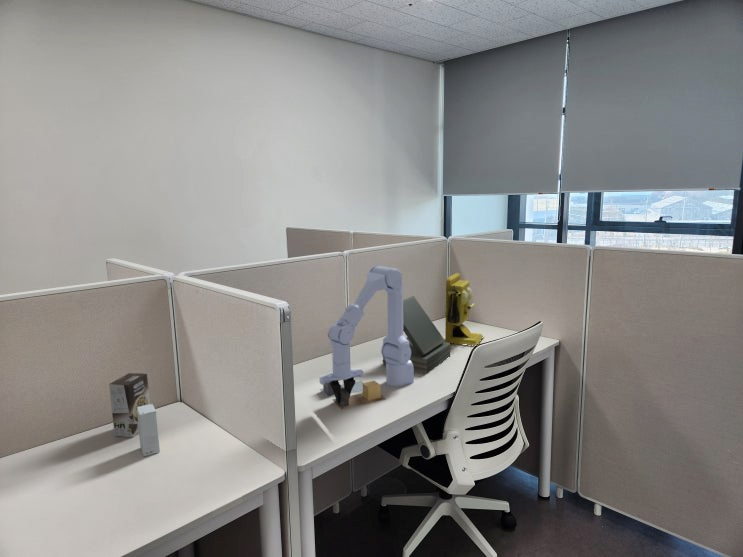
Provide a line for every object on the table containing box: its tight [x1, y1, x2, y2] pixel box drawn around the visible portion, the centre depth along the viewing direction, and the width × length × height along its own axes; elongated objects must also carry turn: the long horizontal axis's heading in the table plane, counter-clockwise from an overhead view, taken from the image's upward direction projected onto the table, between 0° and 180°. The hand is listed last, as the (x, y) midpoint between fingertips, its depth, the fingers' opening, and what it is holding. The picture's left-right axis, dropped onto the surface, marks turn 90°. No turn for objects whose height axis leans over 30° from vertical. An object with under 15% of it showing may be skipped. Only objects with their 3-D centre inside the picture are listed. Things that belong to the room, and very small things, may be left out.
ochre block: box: [362, 380, 382, 401], centre depth 163 cm, size 4×4×4 cm
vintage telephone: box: [444, 272, 484, 349], centre depth 222 cm, size 31×14×30 cm, turn 155°
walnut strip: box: [332, 387, 387, 410], centre depth 161 cm, size 16×8×5 cm, turn 116°
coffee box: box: [108, 372, 151, 438], centre depth 144 cm, size 9×6×16 cm
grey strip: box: [319, 380, 364, 399], centre depth 170 cm, size 16×8×5 cm, turn 116°
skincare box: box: [137, 403, 161, 457], centre depth 133 cm, size 6×4×12 cm
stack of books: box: [381, 295, 452, 375], centre depth 198 cm, size 23×20×25 cm
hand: (342, 400), depth 159 cm, fingers closed on walnut strip, 2 cm apart
